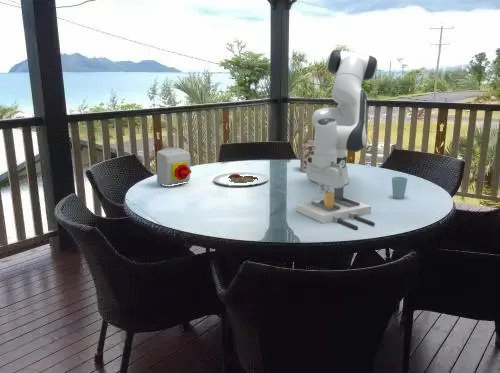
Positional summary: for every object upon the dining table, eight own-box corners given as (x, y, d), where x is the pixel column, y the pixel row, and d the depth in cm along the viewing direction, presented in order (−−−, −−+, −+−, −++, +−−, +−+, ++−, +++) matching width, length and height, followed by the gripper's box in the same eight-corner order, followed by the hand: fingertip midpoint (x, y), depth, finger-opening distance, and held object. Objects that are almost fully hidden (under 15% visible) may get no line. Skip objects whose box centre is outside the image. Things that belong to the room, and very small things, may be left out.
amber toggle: (324, 207, 168) (324, 193, 166) (330, 206, 169) (330, 191, 167) (327, 208, 166) (327, 194, 164) (333, 207, 167) (334, 193, 166)
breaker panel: (296, 211, 174) (296, 201, 173) (341, 202, 185) (342, 193, 184) (323, 223, 159) (323, 212, 158) (370, 213, 169) (371, 203, 168)
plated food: (249, 191, 209) (249, 184, 208) (202, 184, 224) (202, 178, 224) (278, 178, 233) (278, 173, 233) (233, 173, 249) (233, 168, 248)
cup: (400, 194, 195) (401, 176, 193) (409, 198, 189) (410, 179, 187) (387, 196, 193) (389, 177, 191) (396, 200, 187) (397, 180, 185)
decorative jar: (322, 172, 246) (322, 141, 242) (302, 172, 246) (302, 142, 242) (319, 168, 258) (319, 139, 253) (300, 168, 258) (300, 139, 254)
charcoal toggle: (334, 200, 177) (334, 186, 176) (340, 199, 179) (340, 185, 177) (337, 201, 176) (337, 187, 174) (343, 200, 177) (343, 186, 176)
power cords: (332, 221, 161) (333, 216, 160) (353, 216, 166) (353, 211, 165) (354, 230, 150) (355, 225, 150) (376, 225, 155) (376, 220, 154)
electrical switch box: (171, 193, 215) (171, 156, 208) (156, 184, 225) (156, 148, 218) (195, 188, 224) (196, 152, 217) (180, 180, 234) (180, 145, 227)
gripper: (349, 163, 158) (347, 199, 161) (316, 155, 175) (315, 187, 179) (335, 165, 155) (334, 201, 158) (303, 157, 172) (303, 189, 176)
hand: (324, 194), depth 169 cm, fingers closed
